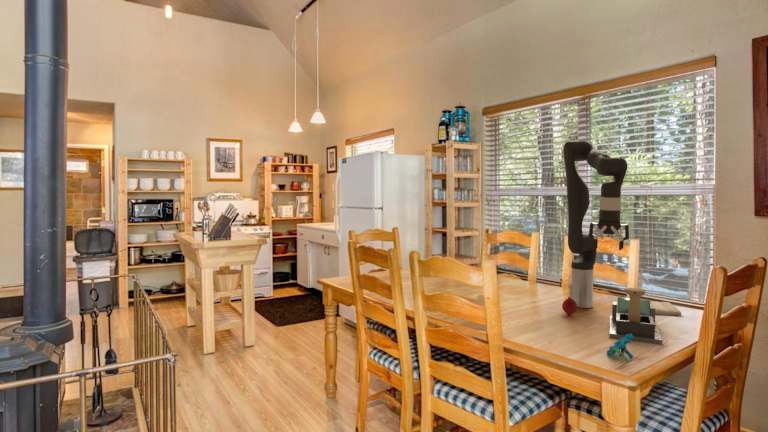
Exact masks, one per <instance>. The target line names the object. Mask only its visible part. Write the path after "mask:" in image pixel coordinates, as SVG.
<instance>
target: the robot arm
mask: <svg viewBox="0 0 768 432" xmlns="http://www.w3.org/2000/svg"><path fill="white" fill-rule="evenodd" d="M562 152H563V162H564V168H565V176H566V199H567V200H566V201H567V211H568V212H567V213H568V229H567V230H568V231H567V246H568V249H569V250H570V252H571V253H572V254H575V255H576V254H577V255H578V257H577V258H576V259H573V261H572V262H571V265H570V266H571V269H570V272H571V273H570V275H571V277H570V284H569V295H568V296H569V297H571V298H572V299H573V300H574V301H575V302H576V304H577V308H580V309H582V308H583V309H589V308H590V309H591V308H593V305H594V266H595V264H596V261H597V260H596V259H597V249H598V246H599V242H598V241H599V237H600V236H601V234H603V235H611V236H613V235H616V237H617V238H618V239H619V243H618V251H622V250H623V249H624V245H625V244H624V242H625V241H628V240H629V239H630V224H628V223H625V224H621V210H622V201H621V199H622V198H621V196H622V195H621V194H622V193H621V192H622V186H623V183H624V179H625V177H626V173H627V171H628V162H627V160H626V159H625V158H623V157H611V156H610V155H608V154H607V153H605V152H603V151H600V150H598V149H596V147H595V146H593V145H592V144H591V143H590V142H589V141H587V140H569V141H566V142H565V143H564V145H563V151H562ZM584 161H586V162H587V164H588V165H589V166H590V167H591V168H593V169H595V170H596V172H597V174H599V175H600V176H602V177H603V176H605V177H612V179H611V180H610V181H606V182H603V183H602V184H601V188H600V200H599V206H598V208H599V212H598V222H593V221H592V222H590V224H589V231H588V232H583V221H584V218H585V217H586V214H587V212H588V209H589V208H590V207H589V206H590V189H589V187H588V185H587V184H586V182H585V181H584V179H583V178H582V177H581V175H580V174H579V173H578V170H577V167H576V162H584ZM596 227H597V228H598V229H599V231H598V232H596V234H594V229H595V228H596ZM621 228H622V229H623V230H624V236H623V235H622V234H621V232H620V231H619V230H620V229H621Z"/></svg>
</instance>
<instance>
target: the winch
mask: <svg viewBox="0 0 768 432" xmlns="http://www.w3.org/2000/svg"><path fill="white" fill-rule="evenodd" d="M629 300H630V297H620V296H618V297H617V301H612V307H611V308H612V310H611V313H612V314H610V315H609V333H608V335H609V337H608V338H611V339H616V340H617V339H618V340H620V338H621V337H625V335H627V334H628V335H629V334H630V333H631V334H632V335H633V336H634V338H633V339H630V340H631V342H640V343H641V342H642V343H647V344H655V345H663V339H662V336H661V332H660V330H659V326H658V323H657V321H656V314H655V306H651V305H650V301H651V300H650V299H641V298H640V311H641V320H640V322H634V321H628V310H629Z"/></svg>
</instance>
